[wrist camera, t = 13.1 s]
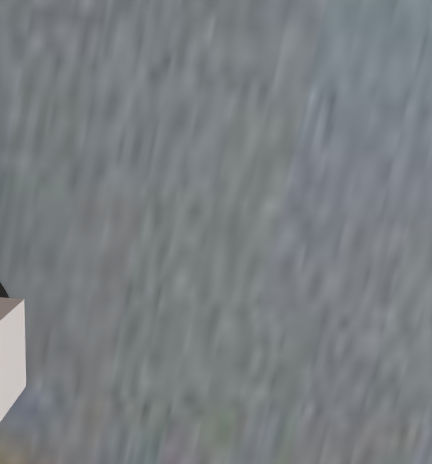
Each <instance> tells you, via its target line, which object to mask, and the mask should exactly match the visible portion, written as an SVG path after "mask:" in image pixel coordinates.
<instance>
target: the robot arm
mask: <svg viewBox="0 0 432 464" xmlns="http://www.w3.org/2000/svg"><path fill="white" fill-rule="evenodd" d="M25 387H26V361H25V312H24V299H14V298H9V297H8V295H7V293H6V291H5V290H4V288H3V287H2V285H1V284H0V421H1V420H2V419H3V417H4V416H5V414H6V413H7V412H8V410H9V409H10V408H11V406H12V405H13V403H14V402H15V401H16V399H17V398H18V396H19V395H20V394H21V392H22V391H23V390H24V388H25Z"/></svg>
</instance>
